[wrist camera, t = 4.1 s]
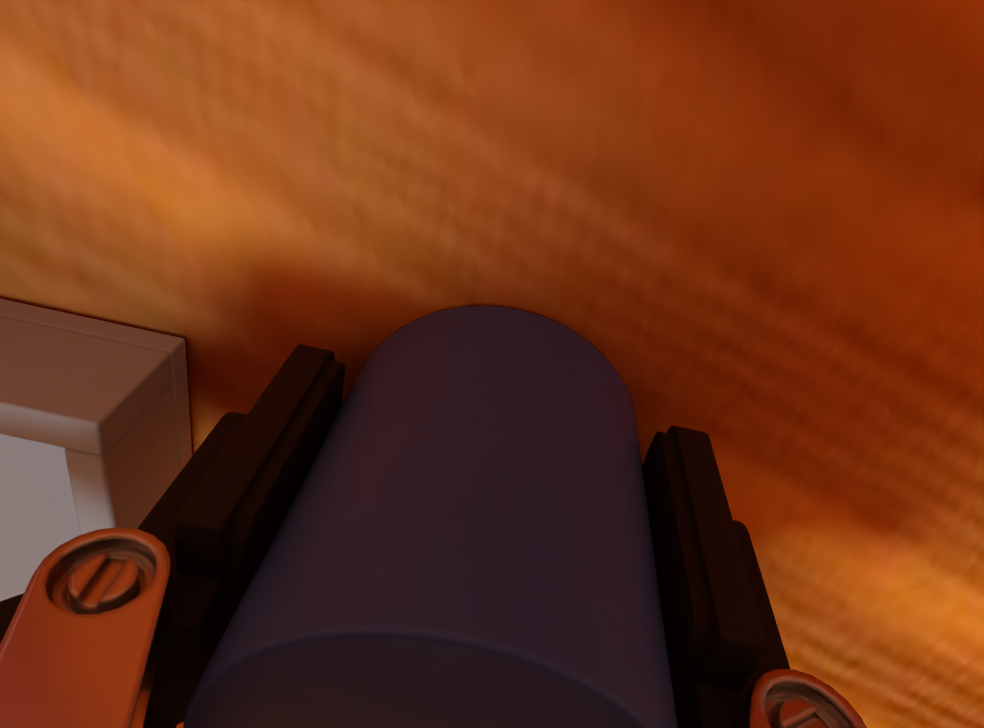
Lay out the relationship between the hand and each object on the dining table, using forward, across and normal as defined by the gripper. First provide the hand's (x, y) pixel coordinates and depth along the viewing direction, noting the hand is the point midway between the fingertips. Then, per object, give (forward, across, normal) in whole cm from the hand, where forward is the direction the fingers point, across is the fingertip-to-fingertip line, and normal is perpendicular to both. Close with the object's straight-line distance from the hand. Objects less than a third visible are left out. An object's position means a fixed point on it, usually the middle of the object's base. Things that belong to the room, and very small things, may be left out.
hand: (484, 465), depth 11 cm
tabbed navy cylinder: (+1, 0, +1) cm, 1 cm away
